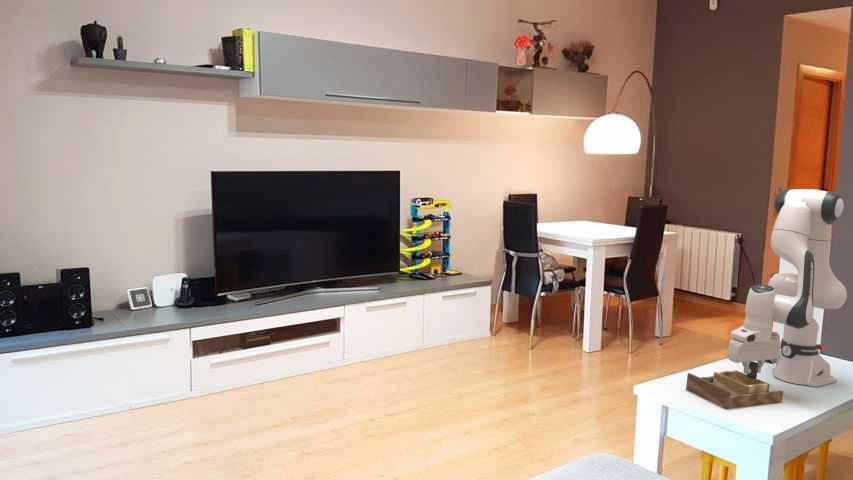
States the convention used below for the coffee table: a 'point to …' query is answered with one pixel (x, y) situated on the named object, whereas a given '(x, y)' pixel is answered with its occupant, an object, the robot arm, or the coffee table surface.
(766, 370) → the coffee table surface
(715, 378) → the crate
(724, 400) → the bay
